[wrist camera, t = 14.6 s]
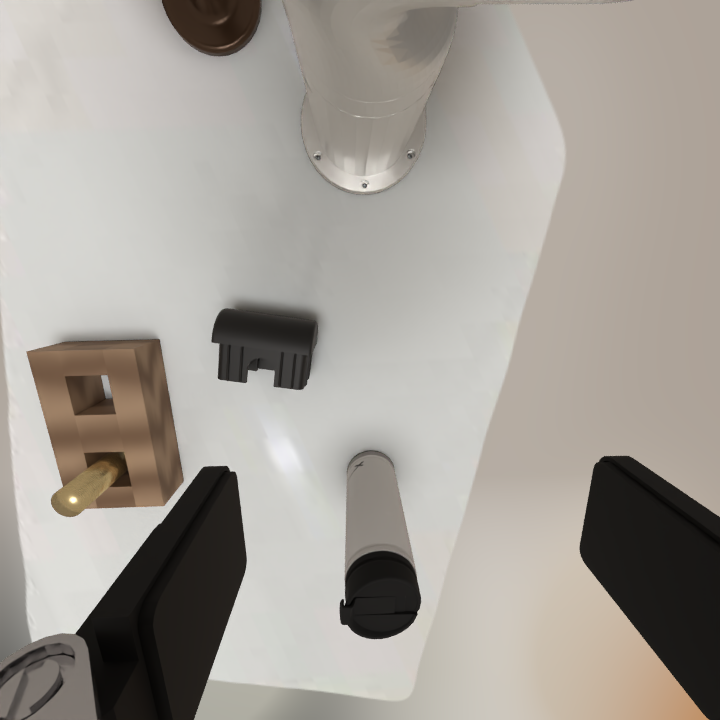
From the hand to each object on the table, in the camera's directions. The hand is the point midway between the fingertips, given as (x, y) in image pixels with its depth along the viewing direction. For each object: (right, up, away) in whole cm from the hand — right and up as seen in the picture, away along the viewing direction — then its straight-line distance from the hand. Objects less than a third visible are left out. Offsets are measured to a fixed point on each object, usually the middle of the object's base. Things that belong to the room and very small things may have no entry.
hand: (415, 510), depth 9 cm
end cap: (-12, +6, +33) cm, 35 cm away
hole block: (-30, -3, +34) cm, 46 cm away
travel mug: (0, -11, +37) cm, 39 cm away
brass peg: (-30, -7, +36) cm, 47 cm away
